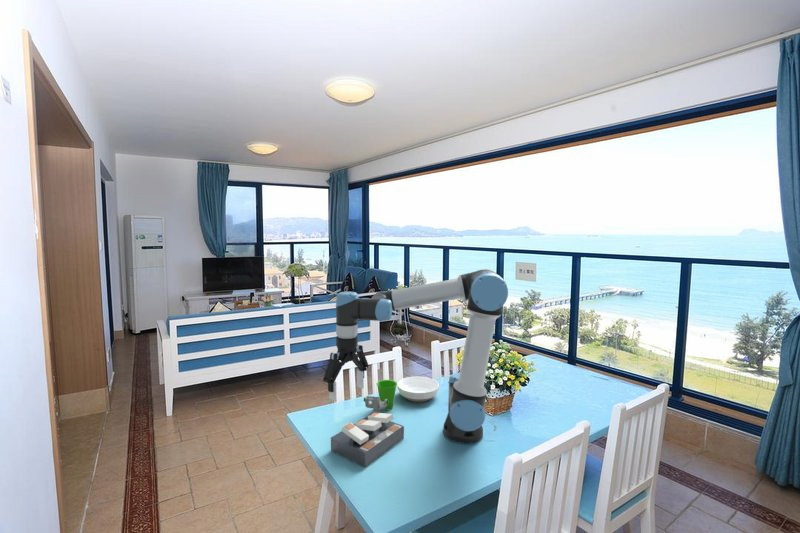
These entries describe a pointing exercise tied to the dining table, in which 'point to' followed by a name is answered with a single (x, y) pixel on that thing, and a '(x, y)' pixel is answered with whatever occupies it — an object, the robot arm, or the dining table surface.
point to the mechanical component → (375, 403)
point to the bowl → (418, 388)
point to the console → (368, 443)
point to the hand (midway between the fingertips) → (347, 393)
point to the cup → (387, 392)
